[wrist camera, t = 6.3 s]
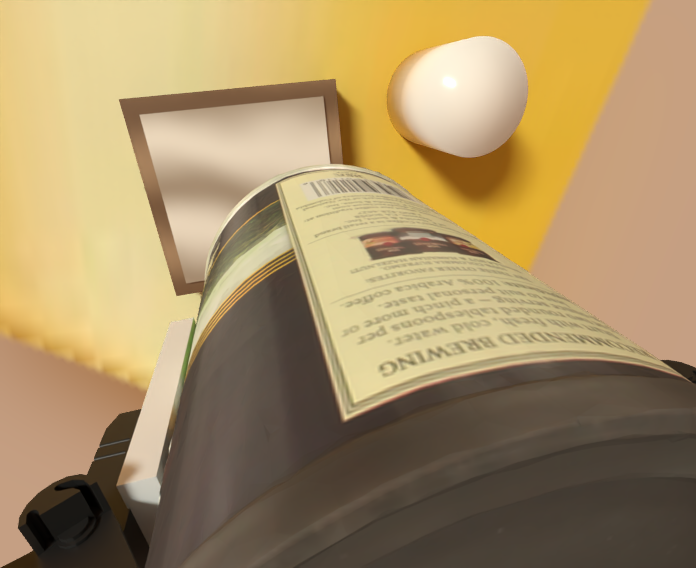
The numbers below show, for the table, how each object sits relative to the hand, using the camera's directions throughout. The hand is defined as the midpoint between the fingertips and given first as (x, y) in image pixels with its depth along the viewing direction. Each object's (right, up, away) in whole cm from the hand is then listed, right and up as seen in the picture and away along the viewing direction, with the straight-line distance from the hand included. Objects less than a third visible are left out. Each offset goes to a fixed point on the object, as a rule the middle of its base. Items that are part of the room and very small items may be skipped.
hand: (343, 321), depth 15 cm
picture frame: (-7, +9, +18) cm, 22 cm away
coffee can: (-1, +1, +3) cm, 3 cm away
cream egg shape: (+7, +16, +18) cm, 25 cm away
